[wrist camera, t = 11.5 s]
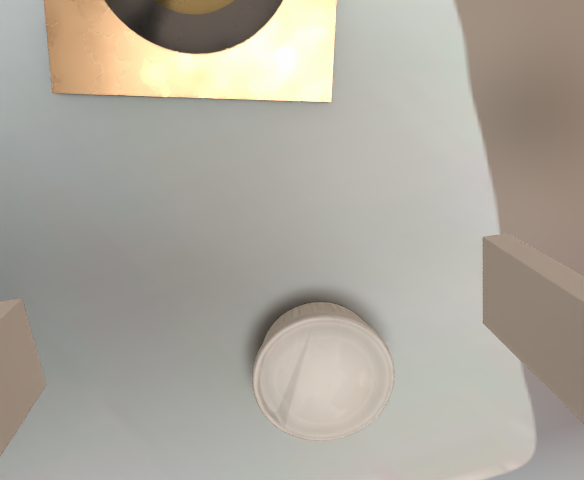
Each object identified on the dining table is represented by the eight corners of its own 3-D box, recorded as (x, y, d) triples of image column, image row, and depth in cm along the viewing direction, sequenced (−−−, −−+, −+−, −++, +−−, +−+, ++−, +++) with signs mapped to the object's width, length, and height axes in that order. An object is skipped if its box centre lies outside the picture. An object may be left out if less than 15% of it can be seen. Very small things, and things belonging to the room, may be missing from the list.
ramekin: (234, 312, 45) (232, 342, 40) (360, 272, 45) (374, 296, 40) (274, 420, 48) (278, 459, 43) (392, 382, 48) (409, 418, 43)
